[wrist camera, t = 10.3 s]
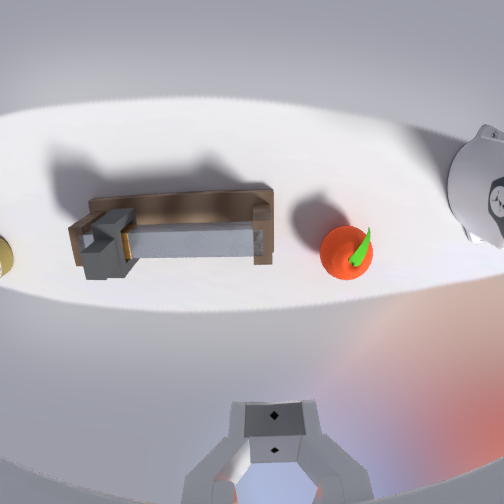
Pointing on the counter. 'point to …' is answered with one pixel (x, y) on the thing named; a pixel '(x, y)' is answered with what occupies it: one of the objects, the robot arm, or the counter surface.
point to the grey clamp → (108, 247)
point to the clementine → (346, 252)
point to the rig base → (189, 213)
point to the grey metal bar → (186, 240)
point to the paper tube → (5, 257)
